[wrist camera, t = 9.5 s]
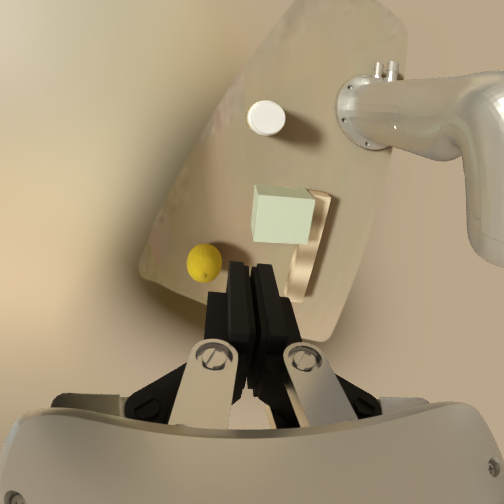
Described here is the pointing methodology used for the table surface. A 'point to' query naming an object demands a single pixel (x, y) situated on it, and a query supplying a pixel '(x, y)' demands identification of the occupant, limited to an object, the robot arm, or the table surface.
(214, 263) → the lemon
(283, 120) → the supplement bottle
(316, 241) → the beige wavy bar
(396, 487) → the robot arm
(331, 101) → the table surface
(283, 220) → the block
